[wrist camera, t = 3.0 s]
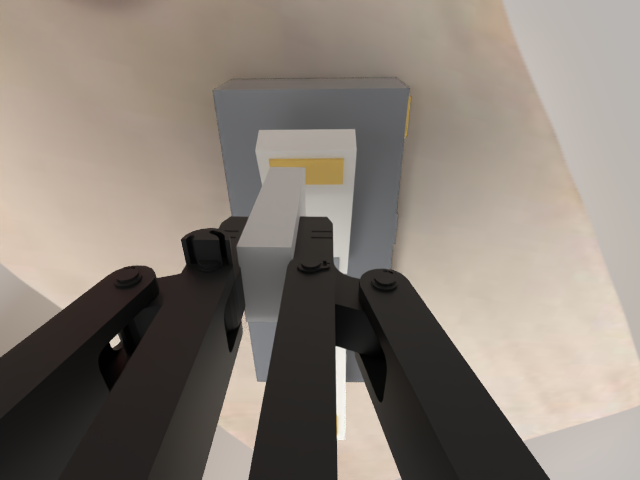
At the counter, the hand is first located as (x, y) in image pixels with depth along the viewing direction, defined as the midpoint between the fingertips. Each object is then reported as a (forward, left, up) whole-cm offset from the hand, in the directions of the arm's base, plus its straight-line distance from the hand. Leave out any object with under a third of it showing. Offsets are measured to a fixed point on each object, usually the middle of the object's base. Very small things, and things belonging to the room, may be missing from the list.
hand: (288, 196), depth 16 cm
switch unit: (+10, +1, -14) cm, 17 cm away
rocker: (+3, +1, -5) cm, 6 cm away
